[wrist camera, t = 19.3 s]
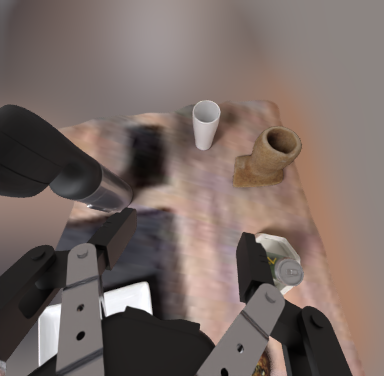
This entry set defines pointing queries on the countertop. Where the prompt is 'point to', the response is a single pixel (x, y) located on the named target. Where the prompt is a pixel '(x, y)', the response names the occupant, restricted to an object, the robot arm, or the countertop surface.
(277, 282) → the cream bowl
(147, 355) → the robot arm
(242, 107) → the countertop surface
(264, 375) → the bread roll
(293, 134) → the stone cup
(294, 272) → the beer can
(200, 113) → the drinking glass
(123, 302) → the square plate
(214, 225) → the countertop surface
